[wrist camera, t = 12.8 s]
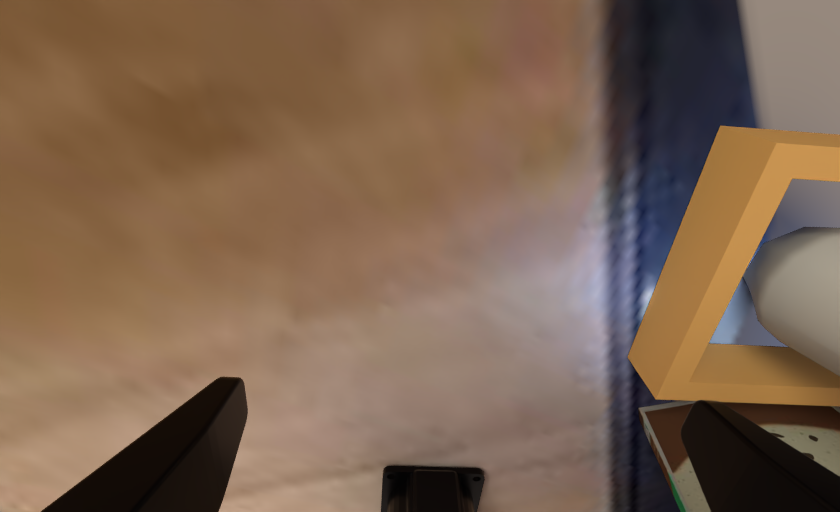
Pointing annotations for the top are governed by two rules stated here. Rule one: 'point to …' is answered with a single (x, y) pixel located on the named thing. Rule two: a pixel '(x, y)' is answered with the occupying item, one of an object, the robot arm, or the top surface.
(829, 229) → the salt shaker
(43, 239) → the top surface
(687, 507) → the food container
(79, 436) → the top surface
